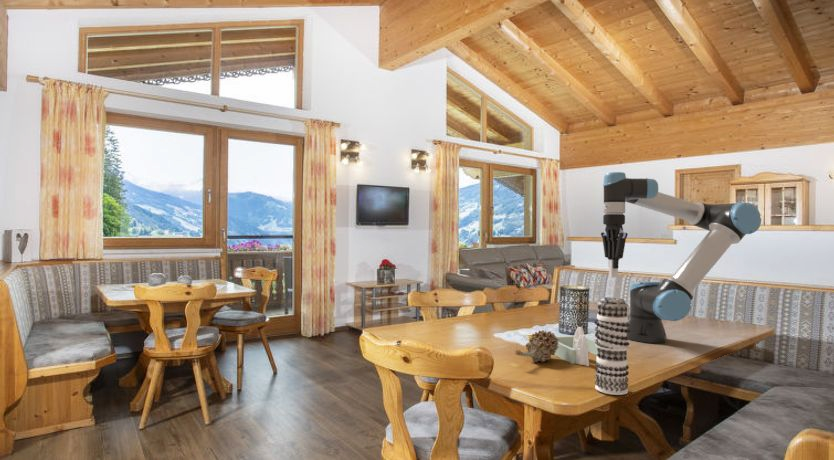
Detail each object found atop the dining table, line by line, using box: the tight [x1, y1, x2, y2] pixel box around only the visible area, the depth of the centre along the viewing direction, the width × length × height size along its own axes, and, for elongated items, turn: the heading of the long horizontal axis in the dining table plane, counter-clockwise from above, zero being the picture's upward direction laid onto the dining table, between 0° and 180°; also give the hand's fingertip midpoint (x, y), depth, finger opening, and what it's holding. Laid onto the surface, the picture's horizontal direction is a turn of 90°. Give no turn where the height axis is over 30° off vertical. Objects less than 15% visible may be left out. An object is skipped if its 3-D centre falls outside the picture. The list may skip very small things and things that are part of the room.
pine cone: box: [514, 330, 559, 364], centre depth 159 cm, size 22×10×10 cm, turn 138°
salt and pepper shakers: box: [573, 326, 590, 367], centre depth 162 cm, size 12×4×11 cm, turn 169°
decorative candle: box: [593, 297, 630, 396], centre depth 133 cm, size 9×9×25 cm
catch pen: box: [554, 335, 597, 365], centre depth 170 cm, size 15×19×4 cm
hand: (613, 277), depth 181 cm, fingers closed
